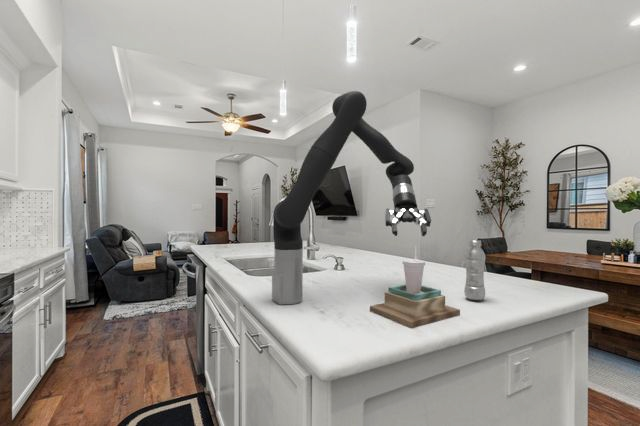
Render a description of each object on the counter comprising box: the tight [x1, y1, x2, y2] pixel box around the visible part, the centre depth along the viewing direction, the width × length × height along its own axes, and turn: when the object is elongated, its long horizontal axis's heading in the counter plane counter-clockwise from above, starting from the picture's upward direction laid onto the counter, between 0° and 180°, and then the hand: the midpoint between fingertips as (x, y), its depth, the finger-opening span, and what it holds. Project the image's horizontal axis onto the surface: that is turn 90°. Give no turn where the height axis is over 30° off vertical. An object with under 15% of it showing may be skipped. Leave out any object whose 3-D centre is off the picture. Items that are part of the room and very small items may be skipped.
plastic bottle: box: [464, 239, 487, 301], centre depth 108 cm, size 6×7×20 cm
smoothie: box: [402, 245, 426, 294], centre depth 94 cm, size 6×6×14 cm
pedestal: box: [369, 284, 461, 329], centre depth 94 cm, size 20×16×7 cm
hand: (410, 234), depth 101 cm, fingers open, 8 cm apart
